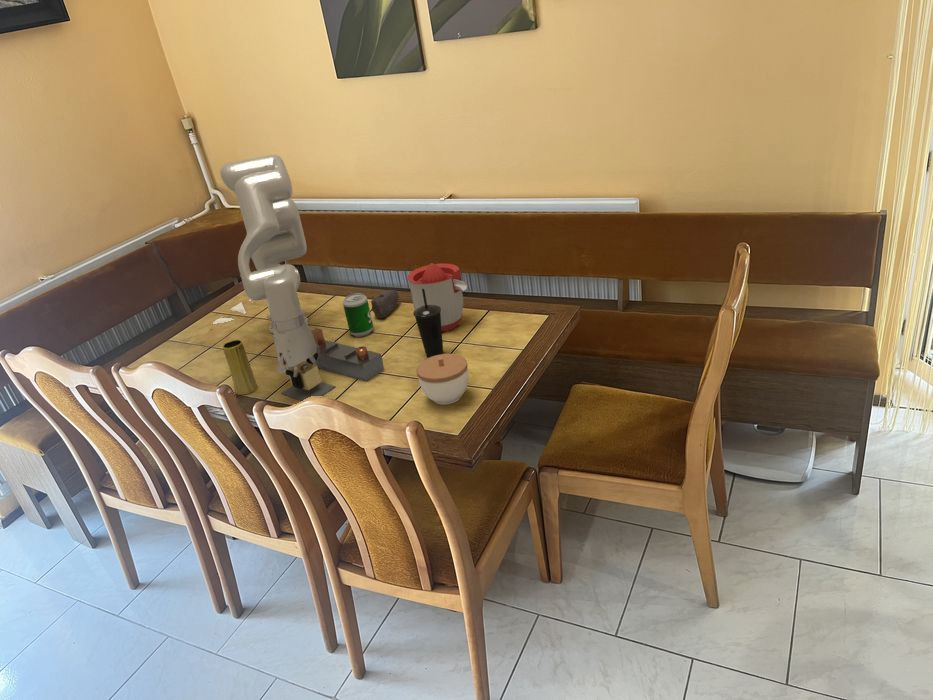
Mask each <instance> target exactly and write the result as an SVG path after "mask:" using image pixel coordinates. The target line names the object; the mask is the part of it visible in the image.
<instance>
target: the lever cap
mask: <svg viewBox="0 0 933 700" xmlns="http://www.w3.org/2000/svg"><path fill="white" fill-rule="evenodd" d="M297 375H299V376H300V379H301V382H302V386H303V388H302V389H305V390H310V389H311V388H313V387H315V386H316V385H318V384H319V383H321V382H323V381H322V378H321V375H320V370H319V368H318V366H317V365H313V364H310V363H307V362H306V361H303V362H301V363H300V364H298V365H297ZM288 377H289V381H290V384H291V386H293V384H292V381H291V377H290V376H289V375H288Z"/></svg>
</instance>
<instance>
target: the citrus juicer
mask: <svg viewBox="0 0 933 700" xmlns="http://www.w3.org/2000/svg"><path fill="white" fill-rule="evenodd" d="M407 281H408V282H409V283H408V284H409V288H410V293H411V298H412V299H411V300H412V304H413V308H414V311H415V310H416V309H417V308H419V307H421V306H424V305H425V304H424V298H423V293H422V289H424V290H425V295H426V301H427V305H437V306H439V307H440V308H441V312H440V315H441V328H442V332H448V331H451V330H452V329H454V328H457V327H458V326H459V325H460V324H461V323H462V318H463V311H464V295H463V292H465V291H466V290H467V289H468V285H467V283H466V282H465V281H463V280H462V277H461V269H460V267H459V266H458V265H455V264H453V263H433V262H432V263H429V264H427V265H423V266H420V267H418V268H415V269H413V270H412V271H411V272H409V273H408V274H407Z"/></svg>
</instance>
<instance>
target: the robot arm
mask: <svg viewBox="0 0 933 700" xmlns="http://www.w3.org/2000/svg"><path fill="white" fill-rule="evenodd" d="M220 177H221V180H222V182H223V184H224V185H225V186H226V188H228V189H229V190H230V191H232V192H233V193H234V195H236V198H237V203H238V206H239V210H240V214H241V216H242V221H243V224H244V228H245V230H246V235H245V238H244V240H243V242H242V244H241V245H240V249H239V251H238V255H237V265H238V271H239V274H240V275H239V276H240V277H241V282H242V286H243V289H244V292H245V295H246V297H248V298H249V300H250V299H251V300H253V301H256V302H257V301H262V300H266V304H267V308H268V311H269V314H267V316H266V318H267V319H268V320H270V322H271V324H270V325H269V328H268V329H269V332H270V333H271V334H272V335H273V343H274V349H275V354H276V359H277V362H278V364H277V368H276V372H277V373H280V374H285V375H287V376H288V377H289V376H290V377H291V381H292V384H293V386H294V387H295V388H298V389H302V388H303V386H302V382H301V379H300V376H299V375H297V365H298V364H300V363H301V362H306V363H310V364H313V365H316V364H317V362H316V360H317V358H318V354H319V352H320V350H321V346H319V345H318V344H316V343H315V340H314V337H313V334H312V332H311V331H312V330H311V328H310V325H309V320H308V318H307V316H304V315H306V314H307V313H306V311H305V309H302V307H301V302H300V299H299V295H298V292H297V291H298V289H299V286H300V284H301V276H300V273H299V270H298V268H296V267H295V266H294V265H293V264H290V263H288V264H287V263H286V264H280V263H282V262H285V261H290V260H294V259H295V260H296V259H298V258H301V257H303V256H304V255H306V253H307V249H308V247H307V242H306V236H305V234H304V227H303V224H302V221H301V215H300V212H299V209H298V206H297V205H296V203H295V201H294V200H293V199H291V198H292V196H293V186H292V185H293V184H292V181H291V178H290V175H289V172H288V169H287V166H286V165H285V162H284V160H283V159H282V157H281V156H280V155H277V154H270V155H265V156H263V155H262V156H259V157H254V158H249V159H244V160H237V161H232V162H229V163H225V164H224V165H222V167H221V168H220ZM251 260H252V262H253V264H254V267H255V269H256V270H254V271H251V268H250V261H251ZM285 367H286V368H285ZM291 381H290V382H291Z"/></svg>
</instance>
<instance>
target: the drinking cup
mask: <svg viewBox="0 0 933 700" xmlns="http://www.w3.org/2000/svg"><path fill="white" fill-rule="evenodd" d="M422 293H423V298H424V304H425V305H424V306H421V307H419V308H417V309H416V310H415V309H414V310H413V313H412V315H413V316H414V318H415V321H416V324H417V328H418V333H419V336H420V339H421V342H422V344H423V345H422V346H423V348H424V352H425V353H424V354H425V356H426V359H427V358H430V357H432V356H436V355H441V354H444V346H443V331H442V328H441V315H440V312H441V308H440V307H439V306H437V305H427V301H426V295H425V290H424V289H422Z"/></svg>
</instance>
